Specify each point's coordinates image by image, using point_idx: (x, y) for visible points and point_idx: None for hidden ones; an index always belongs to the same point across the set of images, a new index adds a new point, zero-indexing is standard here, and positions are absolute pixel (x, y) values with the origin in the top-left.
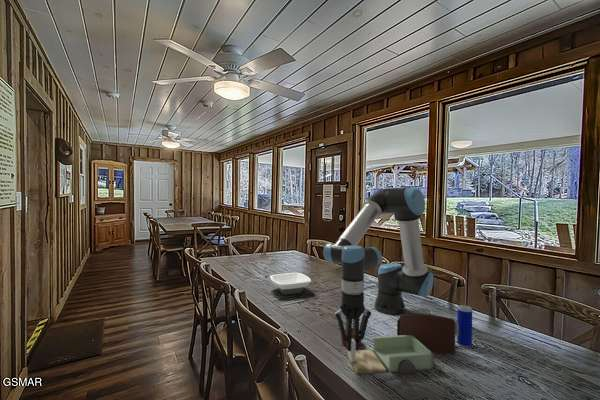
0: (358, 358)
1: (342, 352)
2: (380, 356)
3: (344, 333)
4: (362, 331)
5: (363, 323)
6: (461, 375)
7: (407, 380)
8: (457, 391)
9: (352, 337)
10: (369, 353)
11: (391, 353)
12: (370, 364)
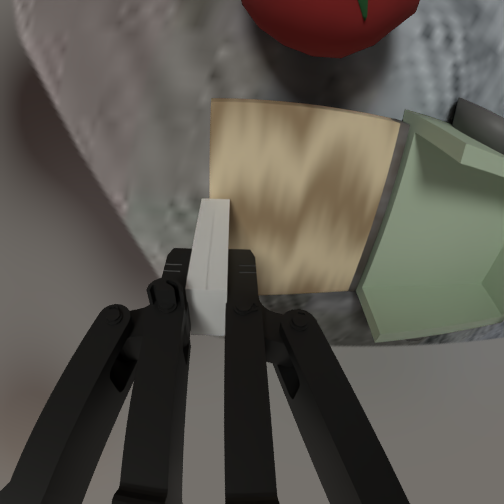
0: (263, 205)
1: (210, 43)
2: (401, 197)
3: (118, 399)
4: (296, 412)
5: (320, 476)
6: None
7: None
8: (441, 337)
9: (314, 36)
10: (365, 157)
11: (460, 189)
12: (302, 258)
